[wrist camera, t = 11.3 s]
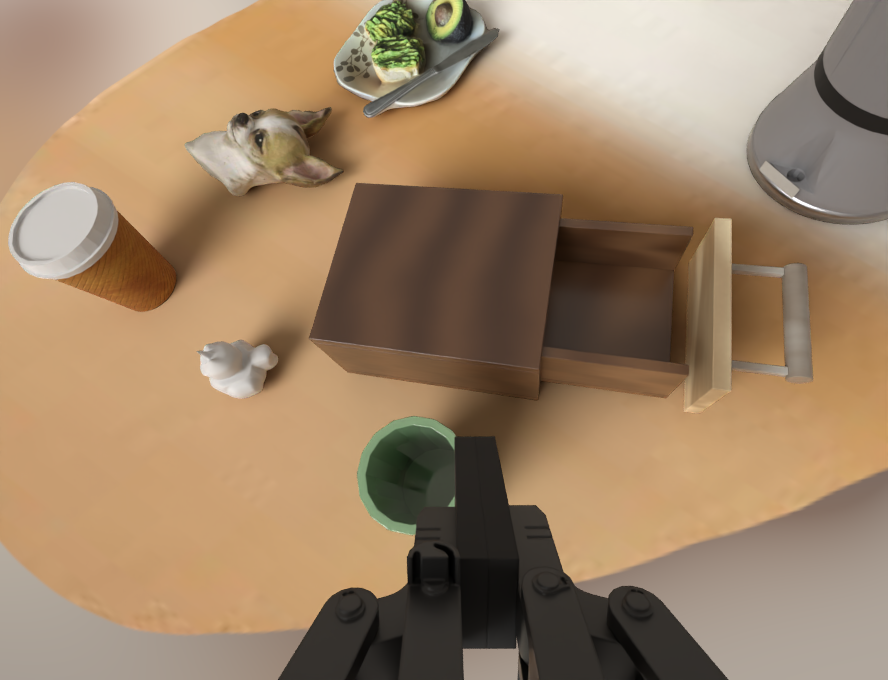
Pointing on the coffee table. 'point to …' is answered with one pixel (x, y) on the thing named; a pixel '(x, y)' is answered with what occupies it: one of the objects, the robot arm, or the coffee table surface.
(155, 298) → the disposable coffee cup
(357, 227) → the cabinet
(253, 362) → the white animal figurine
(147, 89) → the coffee table surface
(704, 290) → the drawer
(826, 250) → the coffee table surface
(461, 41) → the avocado toast plate
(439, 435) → the pot
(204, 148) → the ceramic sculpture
